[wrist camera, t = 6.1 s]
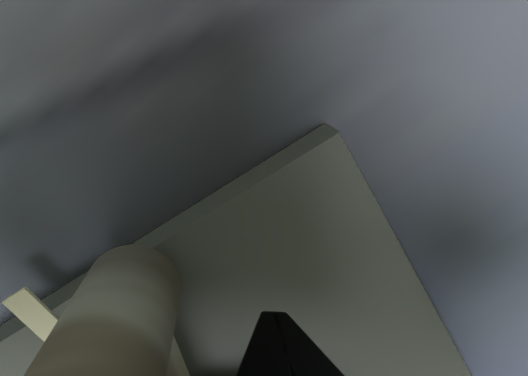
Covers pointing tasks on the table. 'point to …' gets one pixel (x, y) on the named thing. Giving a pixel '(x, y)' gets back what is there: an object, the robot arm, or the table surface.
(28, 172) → the table surface
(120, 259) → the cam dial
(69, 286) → the slate base
